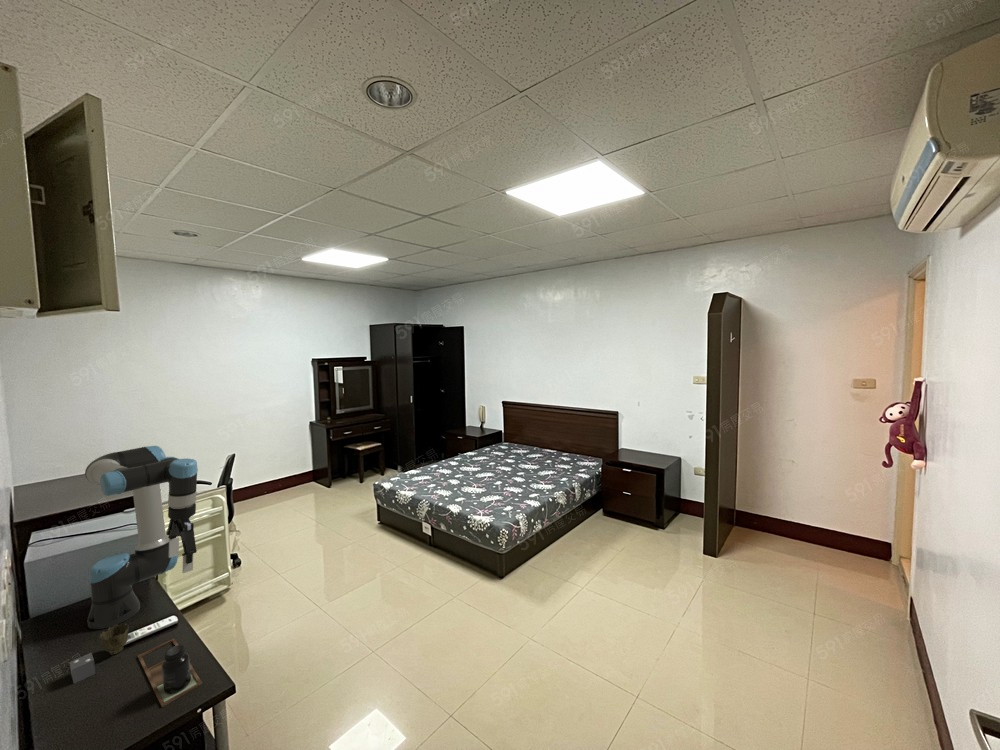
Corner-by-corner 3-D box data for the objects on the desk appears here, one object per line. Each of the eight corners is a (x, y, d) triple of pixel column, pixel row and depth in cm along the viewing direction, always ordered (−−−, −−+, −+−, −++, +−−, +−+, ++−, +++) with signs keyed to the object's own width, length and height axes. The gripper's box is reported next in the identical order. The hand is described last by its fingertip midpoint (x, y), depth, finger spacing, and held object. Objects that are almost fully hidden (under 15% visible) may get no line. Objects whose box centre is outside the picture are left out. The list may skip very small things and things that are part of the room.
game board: (137, 657, 140) (137, 655, 140) (174, 639, 148) (174, 638, 148) (161, 707, 121) (161, 705, 121) (202, 684, 129) (202, 682, 129)
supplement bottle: (196, 681, 130) (193, 646, 129) (171, 698, 124) (168, 662, 123) (183, 673, 133) (180, 639, 132) (159, 690, 127) (155, 654, 126)
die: (71, 676, 133) (69, 661, 132) (92, 666, 137) (91, 652, 136) (73, 684, 130) (71, 669, 129) (95, 673, 134) (93, 659, 133)
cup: (112, 661, 138) (110, 640, 138) (95, 658, 140) (93, 636, 139) (136, 645, 146) (134, 624, 145) (119, 642, 147) (117, 621, 146)
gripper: (209, 512, 135) (207, 573, 137) (182, 491, 150) (180, 546, 151) (182, 519, 129) (180, 583, 131) (156, 496, 144) (155, 554, 145)
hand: (180, 563), depth 141 cm, fingers open, 13 cm apart
